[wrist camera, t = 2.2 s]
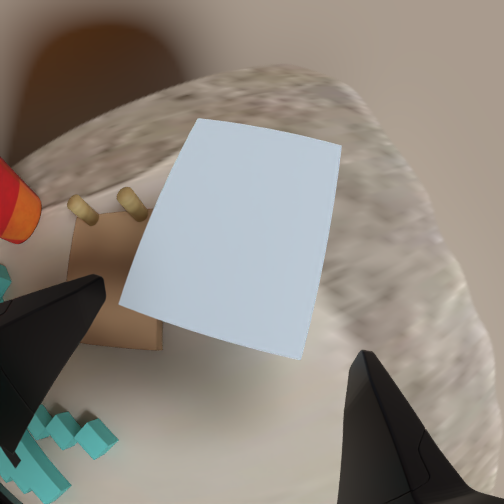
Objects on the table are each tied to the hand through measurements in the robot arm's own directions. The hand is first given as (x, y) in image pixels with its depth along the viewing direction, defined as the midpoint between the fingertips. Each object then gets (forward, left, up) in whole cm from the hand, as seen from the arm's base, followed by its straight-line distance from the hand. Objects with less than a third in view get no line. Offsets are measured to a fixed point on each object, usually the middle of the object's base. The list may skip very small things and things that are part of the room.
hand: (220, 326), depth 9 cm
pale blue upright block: (+2, -2, -10) cm, 10 cm away
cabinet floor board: (+9, +5, -10) cm, 14 cm away
